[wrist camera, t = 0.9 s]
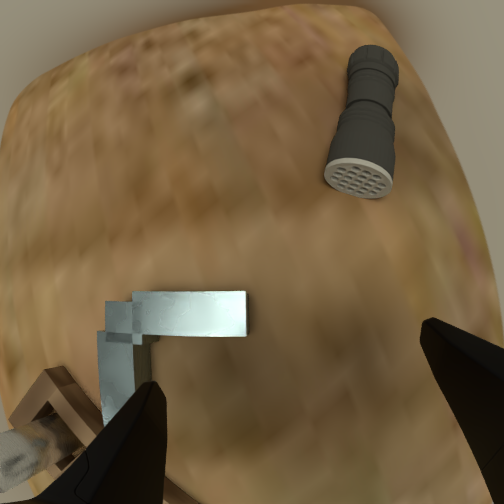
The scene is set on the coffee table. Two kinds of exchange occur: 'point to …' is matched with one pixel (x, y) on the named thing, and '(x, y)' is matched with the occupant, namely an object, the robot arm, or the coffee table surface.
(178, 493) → the slotted block
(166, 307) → the v block
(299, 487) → the coffee table surface
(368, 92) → the flashlight
